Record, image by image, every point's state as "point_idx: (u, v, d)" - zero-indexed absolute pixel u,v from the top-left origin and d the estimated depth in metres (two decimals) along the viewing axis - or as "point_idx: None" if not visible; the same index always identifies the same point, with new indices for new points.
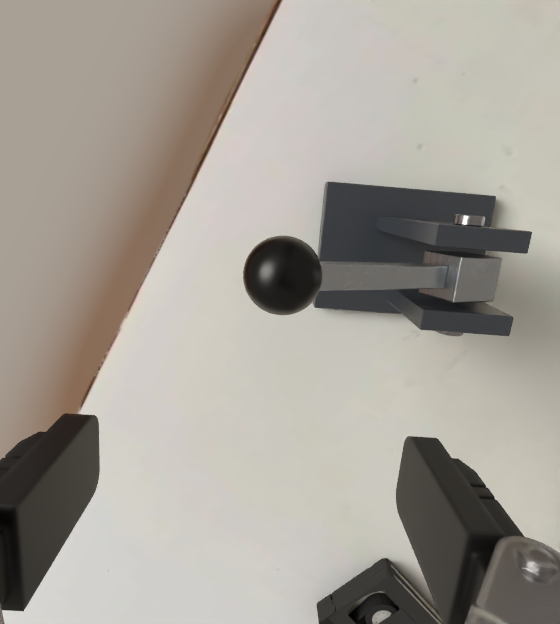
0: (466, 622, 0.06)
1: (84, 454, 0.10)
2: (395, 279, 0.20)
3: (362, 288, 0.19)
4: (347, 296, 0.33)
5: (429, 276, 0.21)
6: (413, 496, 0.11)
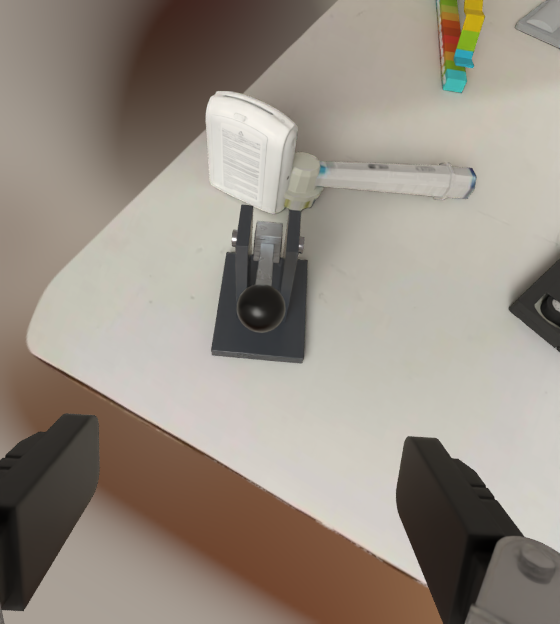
0: (466, 621, 0.06)
1: (84, 454, 0.10)
2: (266, 262, 0.33)
3: (271, 274, 0.32)
4: (294, 336, 0.44)
5: (266, 249, 0.35)
6: (413, 496, 0.11)
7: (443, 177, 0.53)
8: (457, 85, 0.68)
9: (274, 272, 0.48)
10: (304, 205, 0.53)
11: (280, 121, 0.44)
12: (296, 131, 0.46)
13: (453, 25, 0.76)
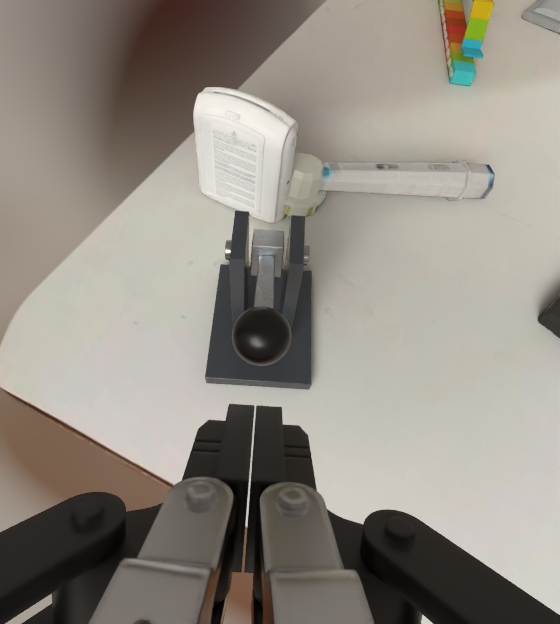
0: (270, 592, 0.06)
1: None
2: (266, 278, 0.28)
3: (272, 292, 0.27)
4: (299, 358, 0.39)
5: (265, 262, 0.30)
6: None
7: (458, 176, 0.48)
8: (465, 77, 0.63)
9: (275, 285, 0.43)
10: (306, 212, 0.48)
11: (278, 119, 0.39)
12: (296, 129, 0.41)
13: (457, 15, 0.71)
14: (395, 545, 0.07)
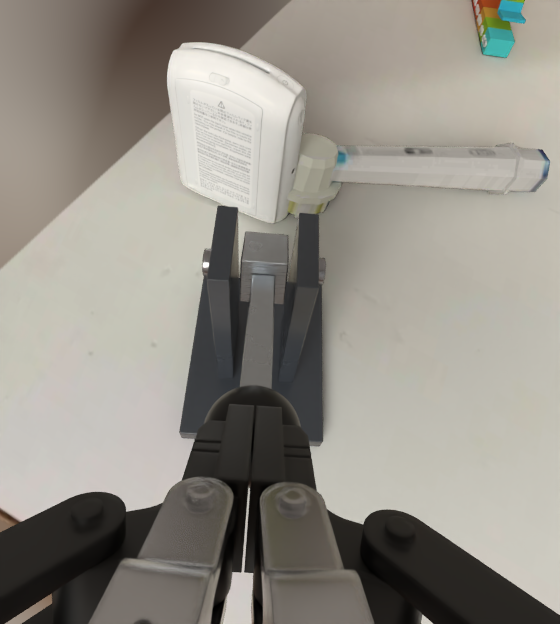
0: (270, 593, 0.06)
1: (251, 440, 0.12)
2: (262, 317, 0.18)
3: (270, 347, 0.17)
4: (307, 404, 0.29)
5: (261, 288, 0.20)
6: None
7: (506, 164, 0.38)
8: (502, 48, 0.53)
9: None
10: (315, 209, 0.38)
11: (281, 84, 0.28)
12: (304, 100, 0.31)
13: None
14: (395, 545, 0.07)
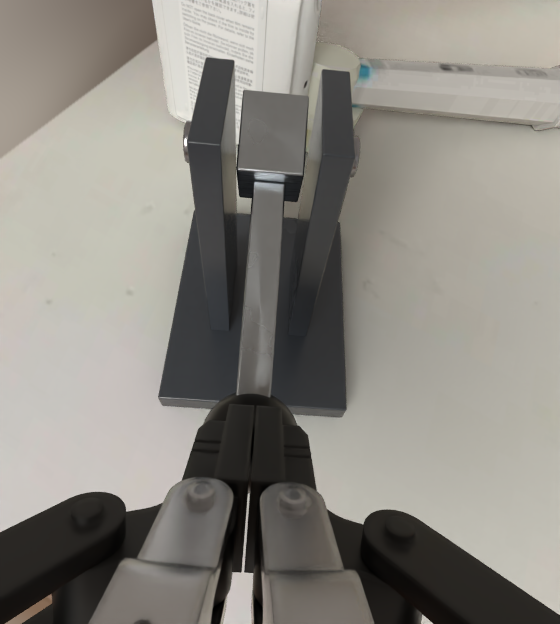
0: (270, 593, 0.06)
1: None
2: (264, 273, 0.15)
3: (273, 326, 0.14)
4: (325, 363, 0.22)
5: (265, 212, 0.15)
6: None
7: None
8: None
9: (281, 243, 0.26)
10: None
11: None
12: None
13: None
14: (395, 545, 0.07)
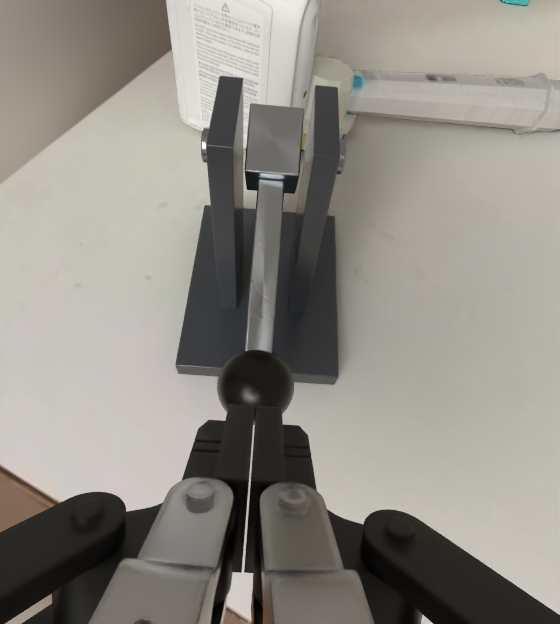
0: (270, 592, 0.06)
1: None
2: (267, 255, 0.18)
3: (273, 297, 0.18)
4: (320, 337, 0.26)
5: (267, 205, 0.18)
6: None
7: (536, 94, 0.35)
8: None
9: (282, 234, 0.29)
10: None
11: None
12: (319, 5, 0.27)
13: None
14: (395, 545, 0.07)
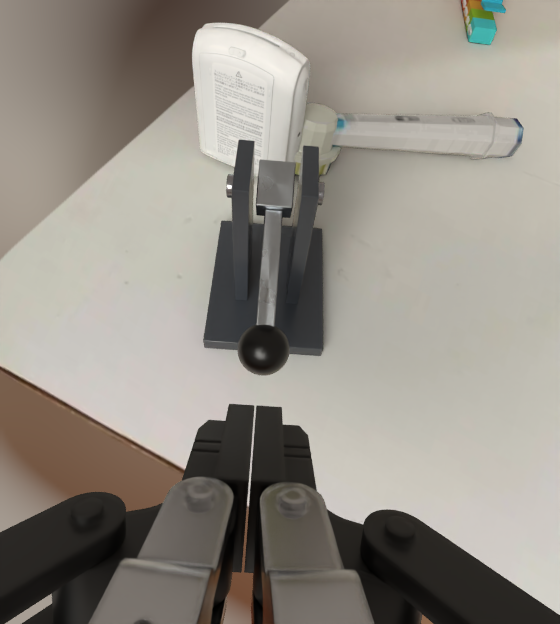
0: (271, 592, 0.06)
1: None
2: (271, 261, 0.27)
3: (275, 289, 0.27)
4: (309, 321, 0.34)
5: (271, 227, 0.27)
6: None
7: (484, 130, 0.44)
8: (485, 35, 0.59)
9: (281, 243, 0.38)
10: None
11: (289, 55, 0.34)
12: (309, 70, 0.36)
13: None
14: (395, 545, 0.07)
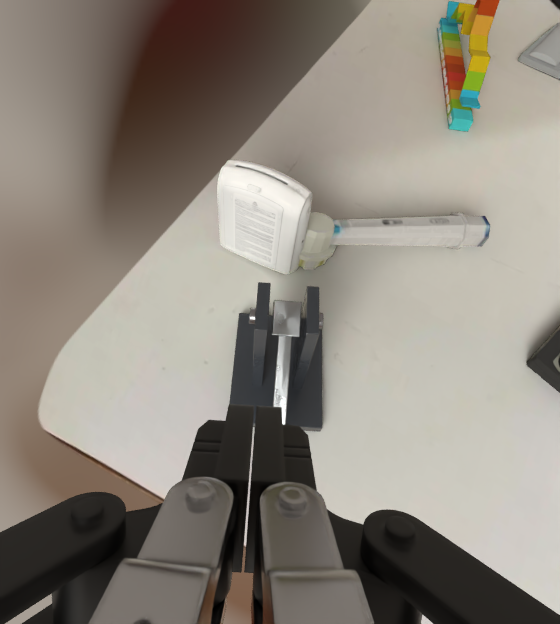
0: (271, 593, 0.06)
1: None
2: (283, 375, 0.36)
3: (286, 396, 0.36)
4: (311, 403, 0.43)
5: (283, 349, 0.36)
6: None
7: (457, 229, 0.53)
8: (463, 124, 0.68)
9: None
10: (318, 264, 0.52)
11: (295, 192, 0.43)
12: (311, 197, 0.45)
13: (457, 61, 0.75)
14: (395, 545, 0.07)
